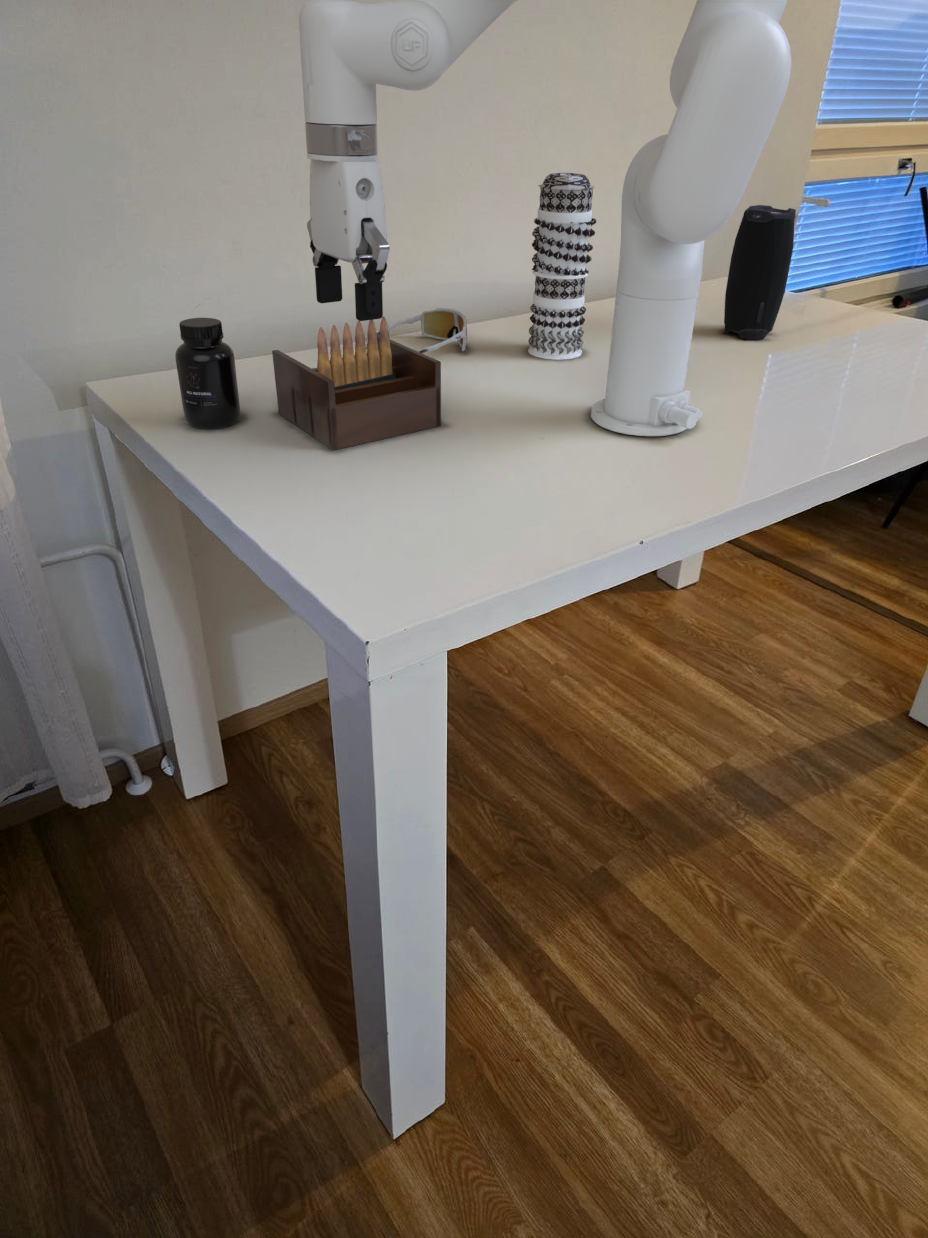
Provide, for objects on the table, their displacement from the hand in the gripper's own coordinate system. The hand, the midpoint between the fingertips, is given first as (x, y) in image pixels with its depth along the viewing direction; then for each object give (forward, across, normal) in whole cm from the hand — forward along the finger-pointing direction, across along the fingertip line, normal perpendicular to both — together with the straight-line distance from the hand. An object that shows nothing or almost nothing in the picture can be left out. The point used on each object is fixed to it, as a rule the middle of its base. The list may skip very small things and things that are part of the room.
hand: (349, 310), depth 99 cm
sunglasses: (+13, +23, -25) cm, 36 cm away
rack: (+13, 0, 0) cm, 13 cm away
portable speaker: (+12, +1, -76) cm, 78 cm away
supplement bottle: (+14, +9, +15) cm, 22 cm away
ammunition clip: (+14, 0, 0) cm, 14 cm away
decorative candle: (+13, +10, -42) cm, 45 cm away
